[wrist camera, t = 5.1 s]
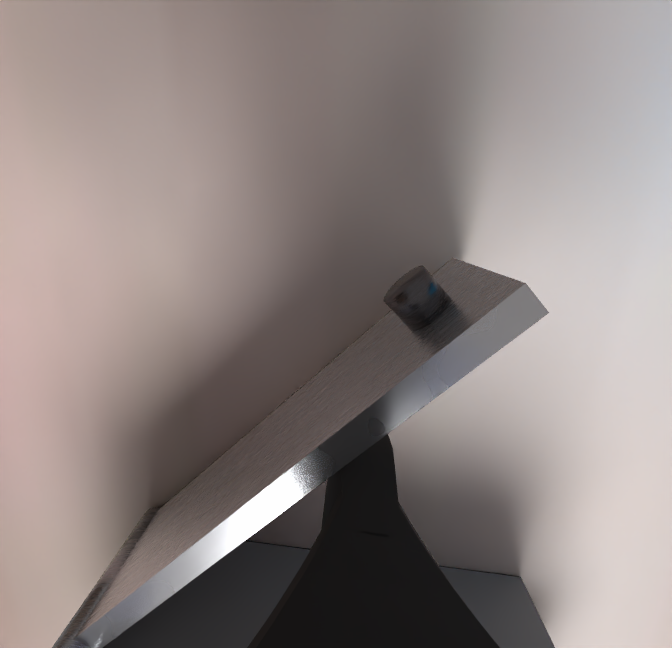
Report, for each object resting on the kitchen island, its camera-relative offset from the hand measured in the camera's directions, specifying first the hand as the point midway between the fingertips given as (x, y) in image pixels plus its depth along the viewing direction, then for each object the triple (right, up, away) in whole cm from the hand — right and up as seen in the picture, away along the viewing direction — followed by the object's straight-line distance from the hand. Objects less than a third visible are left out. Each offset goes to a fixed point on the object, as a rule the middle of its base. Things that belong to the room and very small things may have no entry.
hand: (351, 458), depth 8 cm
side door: (-2, +1, +1) cm, 3 cm away
